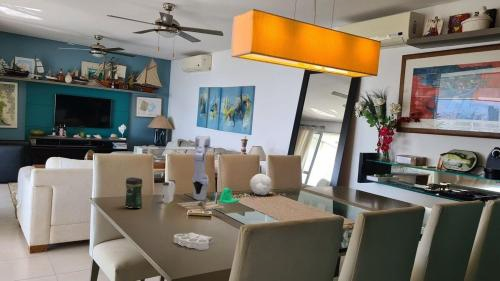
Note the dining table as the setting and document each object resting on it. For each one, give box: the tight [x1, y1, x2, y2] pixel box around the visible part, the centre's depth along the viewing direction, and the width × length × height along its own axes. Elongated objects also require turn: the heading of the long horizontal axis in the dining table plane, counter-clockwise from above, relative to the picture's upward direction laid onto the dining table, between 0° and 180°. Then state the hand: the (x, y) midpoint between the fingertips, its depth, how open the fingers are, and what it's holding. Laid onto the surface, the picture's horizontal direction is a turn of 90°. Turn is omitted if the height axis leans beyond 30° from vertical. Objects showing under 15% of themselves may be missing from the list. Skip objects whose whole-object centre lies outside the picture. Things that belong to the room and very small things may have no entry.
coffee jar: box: [124, 177, 143, 208], centre depth 234 cm, size 10×8×19 cm
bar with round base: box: [198, 200, 206, 208], centre depth 239 cm, size 5×12×2 cm, turn 16°
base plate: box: [176, 197, 223, 212], centre depth 242 cm, size 21×22×4 cm
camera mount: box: [218, 187, 240, 204], centre depth 257 cm, size 12×8×10 cm, turn 140°
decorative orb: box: [249, 173, 272, 196], centre depth 292 cm, size 20×18×16 cm
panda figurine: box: [162, 179, 176, 204], centre depth 248 cm, size 12×11×15 cm
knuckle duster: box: [173, 232, 214, 251], centre depth 173 cm, size 3×18×15 cm
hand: (198, 193), depth 239 cm, fingers closed
